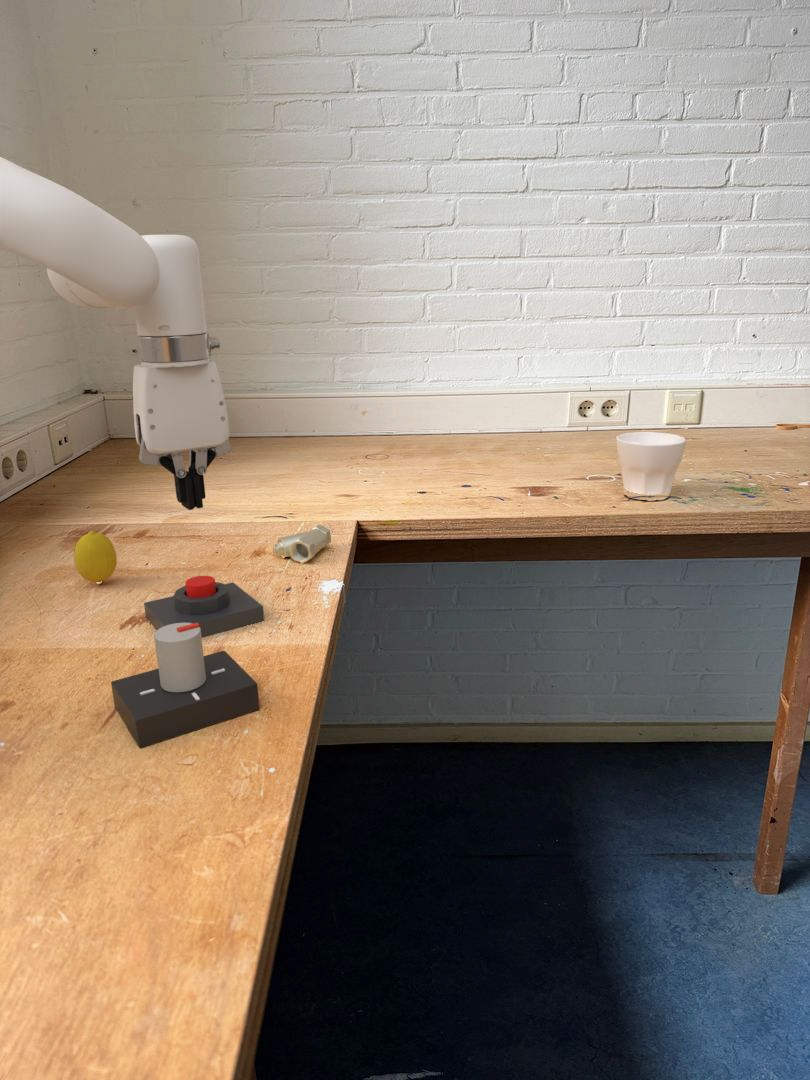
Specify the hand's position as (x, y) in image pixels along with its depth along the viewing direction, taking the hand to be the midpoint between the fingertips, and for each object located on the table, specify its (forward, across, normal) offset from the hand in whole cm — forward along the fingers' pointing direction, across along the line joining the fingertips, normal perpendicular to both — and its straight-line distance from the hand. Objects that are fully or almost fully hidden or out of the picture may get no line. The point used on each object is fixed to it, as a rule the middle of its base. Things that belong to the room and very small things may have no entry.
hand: (192, 506), depth 96 cm
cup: (+15, -89, -6) cm, 91 cm away
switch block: (+15, 0, 0) cm, 15 cm away
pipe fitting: (+15, -21, -15) cm, 30 cm away
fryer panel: (+15, +9, +20) cm, 27 cm away
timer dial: (+12, +9, +20) cm, 25 cm away
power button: (+11, 0, 0) cm, 11 cm away
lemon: (+15, +8, -21) cm, 27 cm away
